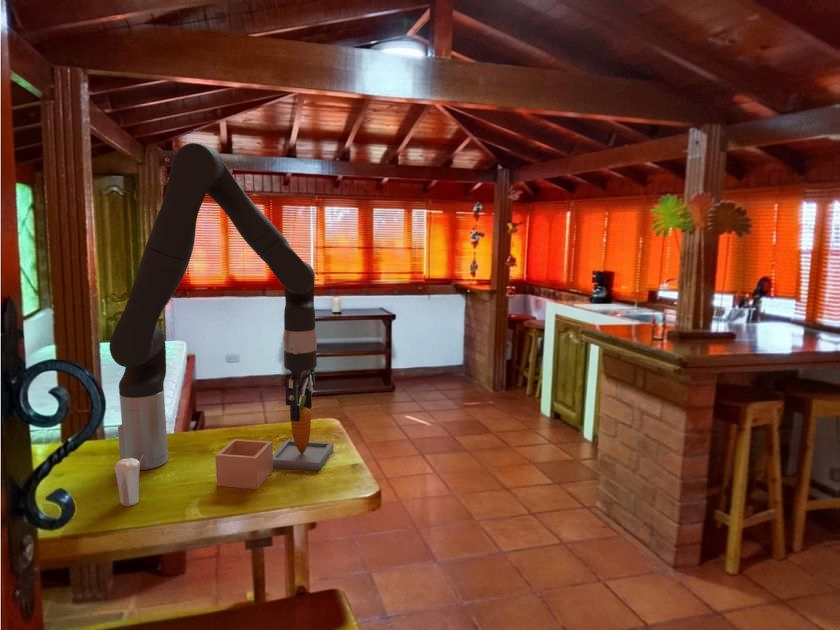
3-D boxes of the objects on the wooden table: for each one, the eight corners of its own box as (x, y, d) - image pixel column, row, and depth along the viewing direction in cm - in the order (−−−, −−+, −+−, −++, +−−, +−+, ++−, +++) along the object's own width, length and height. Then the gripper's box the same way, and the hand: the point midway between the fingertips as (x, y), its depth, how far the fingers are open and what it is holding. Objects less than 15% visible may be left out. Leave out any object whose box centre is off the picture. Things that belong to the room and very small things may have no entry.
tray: (268, 467, 135) (268, 459, 135) (286, 447, 147) (286, 439, 147) (319, 471, 134) (319, 462, 134) (333, 450, 146) (333, 442, 145)
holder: (216, 485, 126) (215, 455, 125) (235, 467, 135) (234, 439, 134) (257, 489, 125) (256, 458, 124) (273, 470, 134) (272, 441, 133)
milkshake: (141, 507, 116) (138, 460, 115) (113, 508, 116) (109, 460, 114) (150, 496, 121) (146, 451, 119) (123, 497, 120) (119, 451, 119)
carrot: (307, 458, 137) (305, 397, 135) (288, 457, 138) (285, 396, 136) (315, 450, 142) (314, 391, 140) (296, 448, 143) (294, 389, 141)
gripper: (294, 340, 143) (296, 404, 146) (273, 354, 129) (275, 424, 132) (324, 341, 142) (325, 405, 145) (306, 356, 128) (307, 426, 131)
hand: (301, 414), depth 139 cm, fingers open, 8 cm apart
